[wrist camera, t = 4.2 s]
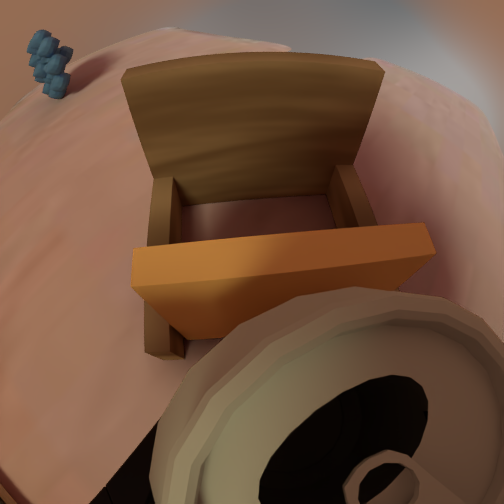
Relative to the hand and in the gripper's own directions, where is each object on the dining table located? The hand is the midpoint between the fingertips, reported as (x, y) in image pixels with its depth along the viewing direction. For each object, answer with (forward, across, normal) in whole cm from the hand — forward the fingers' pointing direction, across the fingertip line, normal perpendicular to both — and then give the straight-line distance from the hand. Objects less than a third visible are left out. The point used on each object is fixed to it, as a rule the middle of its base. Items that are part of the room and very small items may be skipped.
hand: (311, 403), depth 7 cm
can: (+4, 0, +6) cm, 7 cm away
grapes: (+31, +24, -21) cm, 44 cm away
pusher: (+7, 0, +2) cm, 7 cm away
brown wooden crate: (+10, 0, -1) cm, 10 cm away
